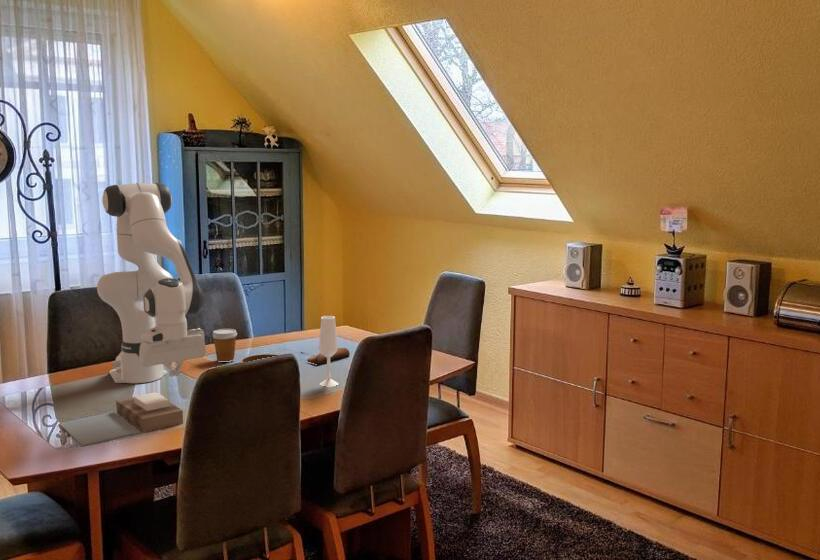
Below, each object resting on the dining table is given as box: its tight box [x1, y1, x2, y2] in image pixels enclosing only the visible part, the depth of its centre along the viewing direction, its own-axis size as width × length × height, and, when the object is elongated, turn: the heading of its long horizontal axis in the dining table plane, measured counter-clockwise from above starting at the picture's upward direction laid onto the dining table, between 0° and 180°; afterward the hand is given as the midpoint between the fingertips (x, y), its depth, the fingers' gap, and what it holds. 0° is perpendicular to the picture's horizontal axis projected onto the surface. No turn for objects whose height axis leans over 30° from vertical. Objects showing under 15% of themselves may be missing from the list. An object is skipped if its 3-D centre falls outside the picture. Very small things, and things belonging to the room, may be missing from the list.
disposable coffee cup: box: [211, 328, 238, 361], centre depth 294 cm, size 10×10×12 cm
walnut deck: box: [115, 396, 184, 433], centre depth 230 cm, size 22×12×4 cm, turn 40°
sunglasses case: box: [306, 347, 351, 366], centre depth 298 cm, size 18×7×7 cm
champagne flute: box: [318, 315, 339, 388], centre depth 264 cm, size 7×7×24 cm
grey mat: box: [58, 411, 141, 447], centre depth 221 cm, size 22×16×1 cm
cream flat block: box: [133, 391, 170, 411], centre depth 231 cm, size 10×7×2 cm
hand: (174, 375), depth 234 cm, fingers closed
